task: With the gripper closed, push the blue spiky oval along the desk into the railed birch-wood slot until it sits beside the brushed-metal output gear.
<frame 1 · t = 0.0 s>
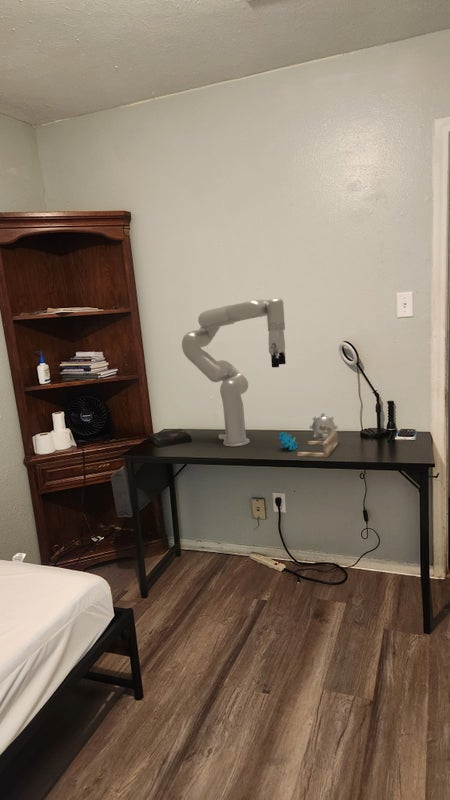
hand: (278, 365, 231), 37 cm above the table, tool pointing down, fingers open, 9 cm apart
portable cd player: (171, 442, 262), on the table
gear bay: (315, 449, 226), on the table
blue spiky oval: (289, 449, 230), on the table
output gear: (324, 441, 236), on the table
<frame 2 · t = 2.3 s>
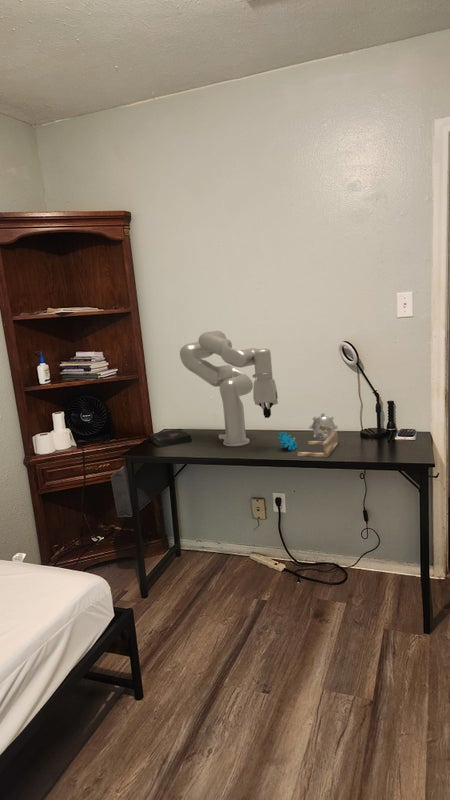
hand: (267, 417, 231), 14 cm above the table, tool pointing down, fingers closed
nothing on the table moved.
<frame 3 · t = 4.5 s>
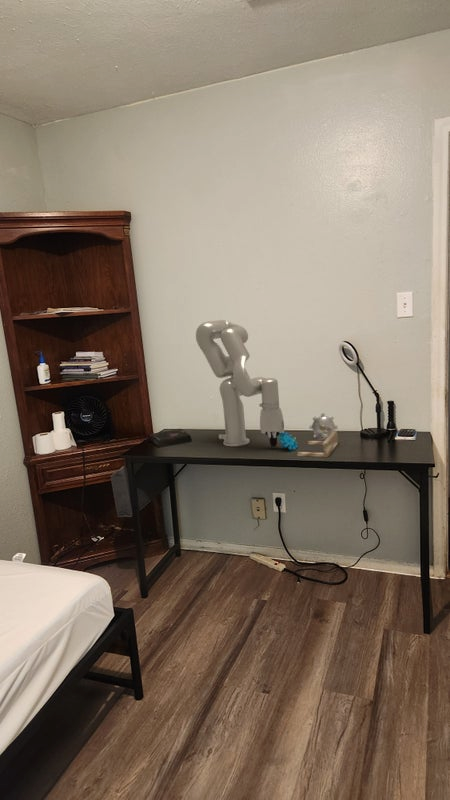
hand: (273, 445, 233), 1 cm above the table, tool pointing down, fingers closed
blue spiky oval: (289, 449, 231), on the table, touching gripper
everything else where it was.
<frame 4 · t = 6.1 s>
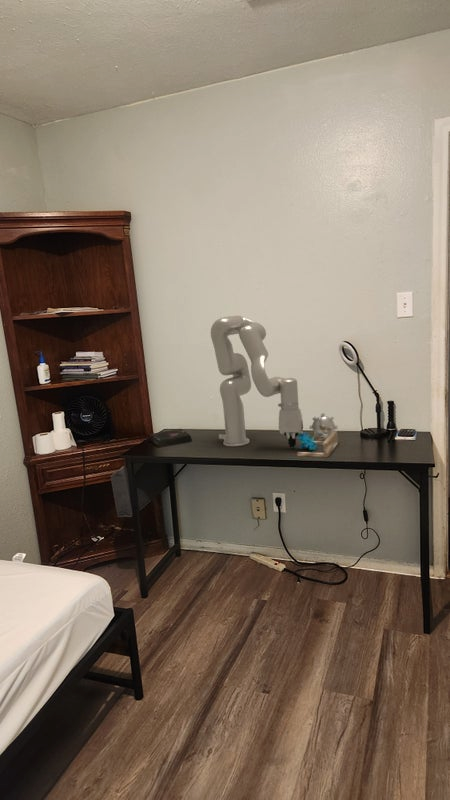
hand: (292, 446, 230), 1 cm above the table, tool pointing down, fingers closed
blue spiky oval: (308, 449, 227), on the table, touching gripper
everything else where it was.
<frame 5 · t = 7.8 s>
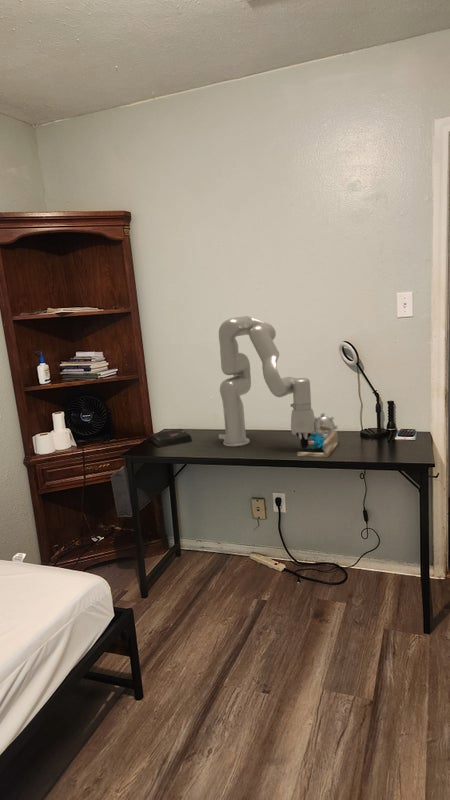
hand: (304, 447, 227), 1 cm above the table, tool pointing down, fingers closed
blue spiky oval: (320, 450, 225), on the table, touching gripper
everything else where it was.
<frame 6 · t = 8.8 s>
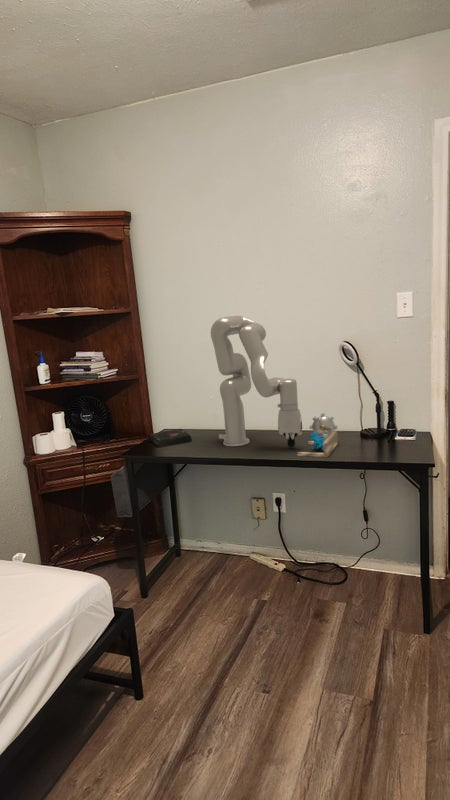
hand: (291, 447, 230), 1 cm above the table, tool pointing down, fingers closed
blue spiky oval: (320, 450, 225), on the table
everything else where it was.
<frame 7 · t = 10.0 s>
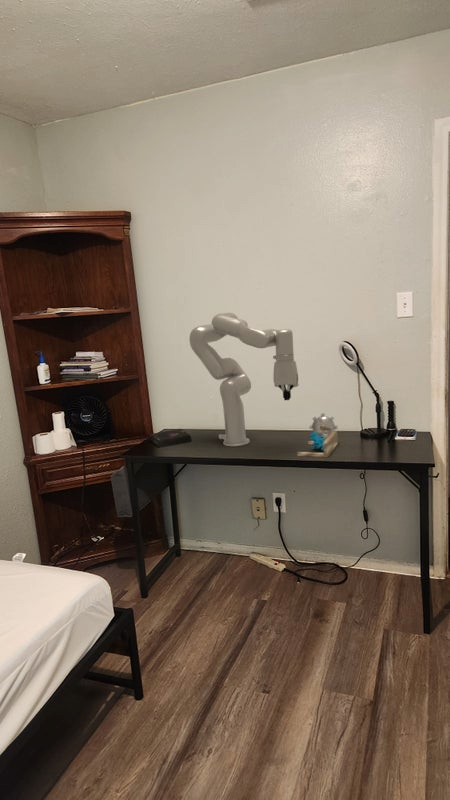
hand: (287, 399, 227), 22 cm above the table, tool pointing down, fingers closed
nothing on the table moved.
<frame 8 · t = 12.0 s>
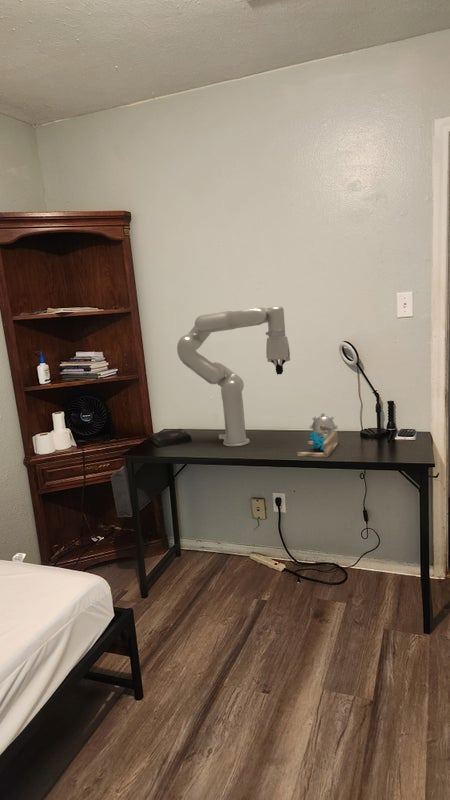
hand: (279, 373, 238), 32 cm above the table, tool pointing down, fingers closed
nothing on the table moved.
at the end: blue spiky oval inside the target area (1.3 cm from its centre), on the table; blue spiky oval tilted 0°; blue spiky oval moved 13.9 cm from its start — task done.
